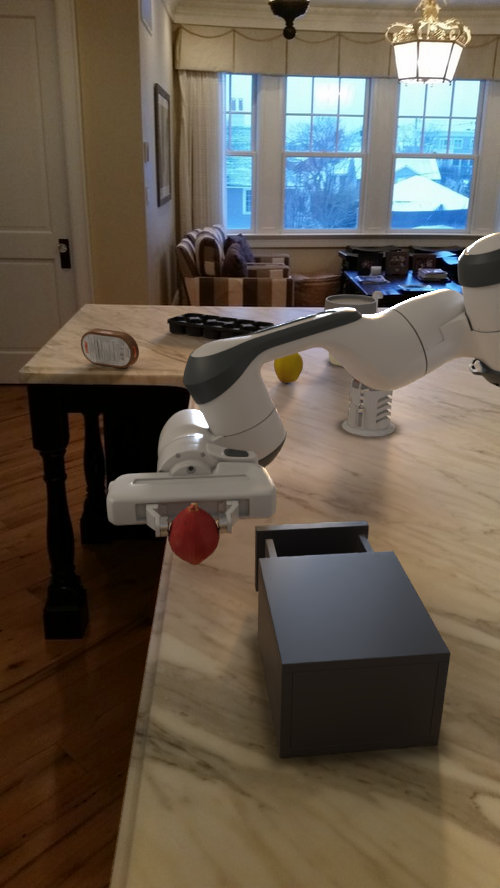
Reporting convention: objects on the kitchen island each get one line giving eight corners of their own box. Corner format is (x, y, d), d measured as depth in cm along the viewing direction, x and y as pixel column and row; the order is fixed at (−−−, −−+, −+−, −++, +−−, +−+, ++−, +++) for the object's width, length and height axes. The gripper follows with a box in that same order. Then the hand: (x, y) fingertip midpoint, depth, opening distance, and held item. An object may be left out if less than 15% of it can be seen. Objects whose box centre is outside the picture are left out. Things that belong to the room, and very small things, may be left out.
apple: (303, 386, 152) (304, 350, 149) (274, 386, 152) (274, 350, 149) (301, 377, 158) (302, 343, 155) (273, 377, 158) (273, 343, 155)
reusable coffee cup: (311, 360, 171) (313, 298, 165) (345, 351, 179) (348, 292, 173) (350, 371, 163) (354, 307, 157) (384, 362, 170) (389, 299, 164)
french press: (403, 424, 132) (416, 289, 122) (377, 444, 123) (388, 300, 113) (356, 413, 137) (364, 283, 127) (327, 432, 128) (334, 293, 118)
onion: (159, 561, 82) (156, 500, 79) (200, 545, 85) (198, 485, 82) (188, 583, 78) (186, 520, 75) (229, 565, 81) (228, 503, 78)
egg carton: (182, 323, 207) (181, 311, 206) (280, 331, 199) (280, 317, 198) (157, 337, 192) (156, 324, 190) (262, 346, 184) (263, 332, 182)
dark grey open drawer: (253, 580, 82) (253, 520, 79) (359, 574, 83) (363, 515, 80) (271, 672, 68) (273, 603, 65) (399, 663, 69) (406, 595, 66)
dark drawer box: (257, 638, 74) (258, 558, 70) (386, 630, 75) (393, 550, 71) (279, 758, 59) (281, 664, 55) (438, 744, 61) (450, 652, 57)
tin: (140, 367, 165) (138, 332, 162) (133, 371, 163) (130, 335, 159) (88, 360, 171) (85, 326, 168) (80, 363, 169) (77, 328, 165)
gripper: (107, 457, 89) (97, 509, 76) (268, 451, 91) (283, 500, 78) (111, 501, 92) (102, 558, 79) (267, 494, 94) (282, 549, 81)
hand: (194, 529), depth 79 cm, fingers closed on onion, 6 cm apart
